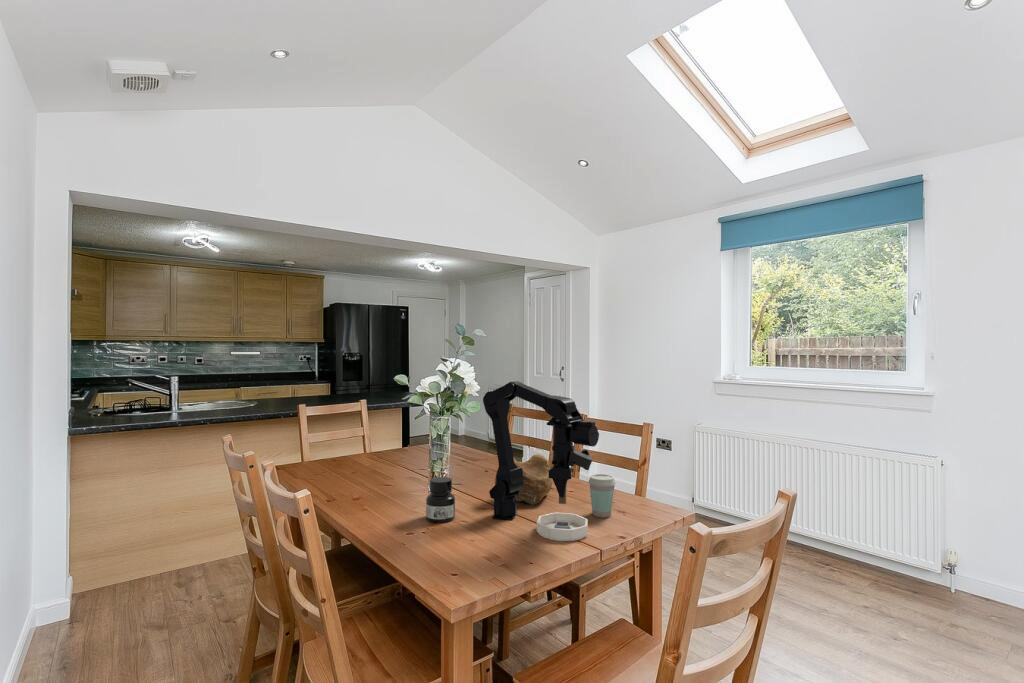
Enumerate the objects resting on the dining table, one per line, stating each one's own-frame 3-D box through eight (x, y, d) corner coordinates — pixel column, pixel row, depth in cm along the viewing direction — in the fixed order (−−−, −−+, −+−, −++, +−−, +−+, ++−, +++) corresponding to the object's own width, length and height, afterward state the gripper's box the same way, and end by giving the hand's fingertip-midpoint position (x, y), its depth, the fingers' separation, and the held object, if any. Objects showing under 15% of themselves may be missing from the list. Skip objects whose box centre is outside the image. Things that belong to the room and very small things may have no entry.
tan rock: (521, 515, 164) (525, 469, 163) (487, 499, 176) (491, 456, 175) (567, 502, 180) (571, 461, 179) (534, 489, 192) (537, 449, 191)
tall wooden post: (558, 503, 146) (559, 475, 146) (559, 501, 148) (559, 473, 148) (565, 504, 146) (566, 476, 146) (566, 501, 148) (566, 474, 148)
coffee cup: (619, 513, 164) (619, 475, 164) (609, 520, 156) (610, 481, 157) (594, 508, 168) (594, 472, 168) (584, 516, 161) (584, 477, 161)
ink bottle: (422, 523, 153) (422, 483, 153) (427, 513, 162) (427, 475, 162) (454, 523, 153) (454, 483, 153) (457, 514, 162) (458, 476, 162)
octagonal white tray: (534, 539, 141) (534, 527, 141) (541, 522, 155) (541, 511, 155) (586, 543, 138) (586, 531, 138) (588, 525, 152) (588, 514, 152)
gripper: (590, 449, 136) (589, 508, 136) (591, 437, 155) (591, 489, 155) (548, 447, 138) (548, 505, 138) (555, 436, 157) (554, 486, 157)
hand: (562, 496), depth 147 cm, fingers closed on tall wooden post, 2 cm apart
